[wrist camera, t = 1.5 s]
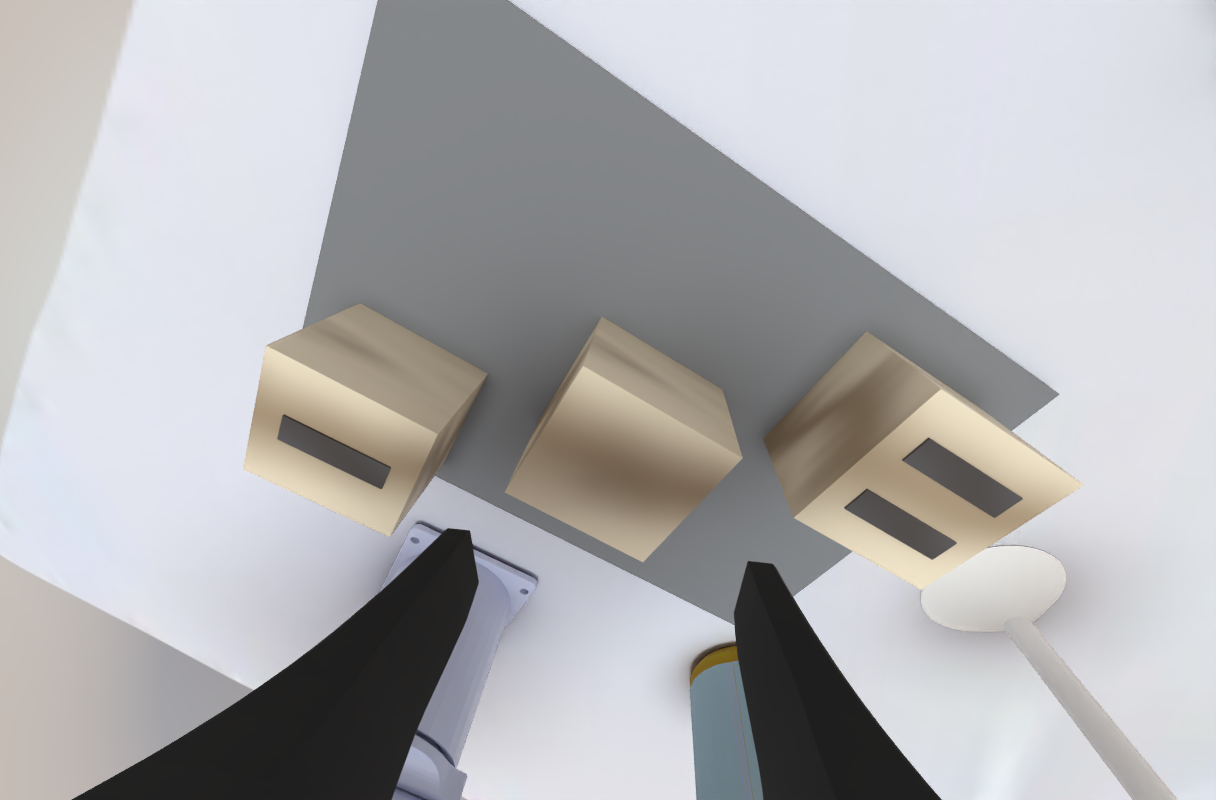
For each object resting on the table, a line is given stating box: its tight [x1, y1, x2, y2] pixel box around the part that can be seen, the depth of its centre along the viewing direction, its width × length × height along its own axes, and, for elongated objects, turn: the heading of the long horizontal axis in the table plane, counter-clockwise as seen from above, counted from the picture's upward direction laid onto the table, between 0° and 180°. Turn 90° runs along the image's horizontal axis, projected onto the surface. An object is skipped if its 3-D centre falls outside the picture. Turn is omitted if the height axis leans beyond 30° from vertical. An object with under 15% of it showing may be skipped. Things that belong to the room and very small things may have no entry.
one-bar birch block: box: [243, 303, 488, 537], centre depth 18 cm, size 6×6×5 cm
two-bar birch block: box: [763, 331, 1083, 590], centre depth 16 cm, size 6×6×5 cm
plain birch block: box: [505, 317, 742, 562], centre depth 17 cm, size 6×6×5 cm
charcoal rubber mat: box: [303, 0, 1059, 625], centre depth 19 cm, size 19×28×1 cm
